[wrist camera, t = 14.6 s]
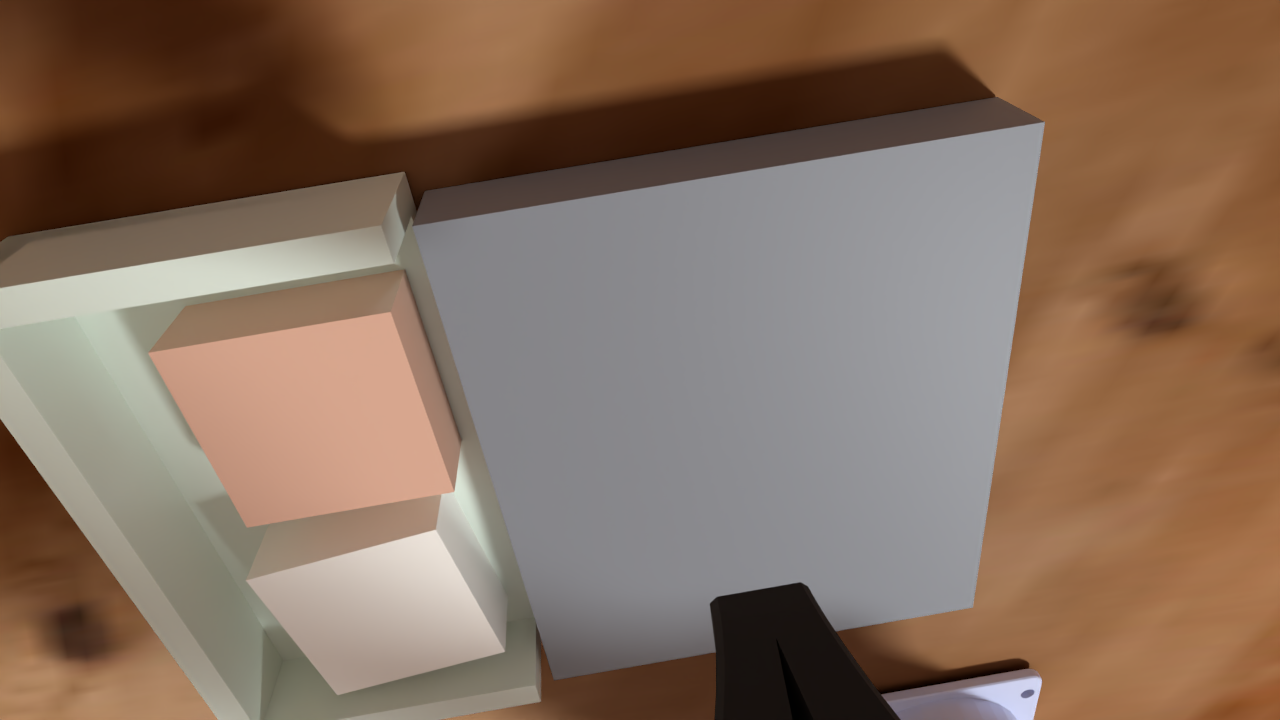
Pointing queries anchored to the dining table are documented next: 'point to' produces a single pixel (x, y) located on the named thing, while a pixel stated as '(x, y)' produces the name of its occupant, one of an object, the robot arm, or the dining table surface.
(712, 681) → the dining table surface
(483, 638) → the cream tile
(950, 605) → the board
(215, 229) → the tray
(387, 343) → the terracotta tile
